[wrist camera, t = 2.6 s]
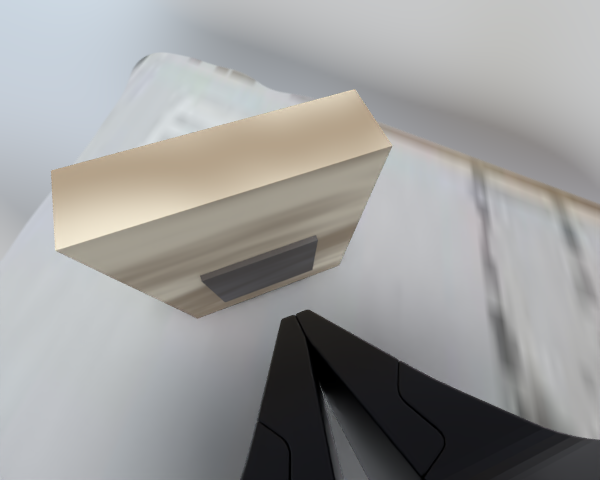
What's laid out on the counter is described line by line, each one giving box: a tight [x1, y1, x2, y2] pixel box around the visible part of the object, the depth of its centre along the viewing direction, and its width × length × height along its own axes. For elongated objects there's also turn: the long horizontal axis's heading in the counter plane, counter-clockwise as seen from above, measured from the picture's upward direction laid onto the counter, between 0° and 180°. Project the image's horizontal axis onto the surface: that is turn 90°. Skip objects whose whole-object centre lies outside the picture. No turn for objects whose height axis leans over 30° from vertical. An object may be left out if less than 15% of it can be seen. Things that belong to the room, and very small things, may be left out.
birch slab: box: [51, 89, 392, 319], centre depth 15 cm, size 3×11×13 cm, turn 112°
